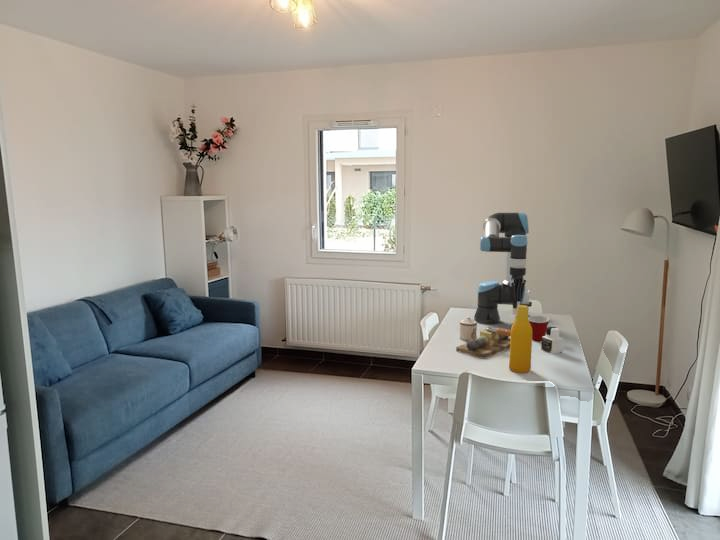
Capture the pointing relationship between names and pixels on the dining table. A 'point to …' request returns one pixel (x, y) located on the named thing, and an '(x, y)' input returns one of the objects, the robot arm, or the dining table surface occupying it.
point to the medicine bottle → (552, 341)
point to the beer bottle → (521, 342)
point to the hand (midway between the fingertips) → (515, 314)
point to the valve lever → (500, 331)
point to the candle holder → (526, 300)
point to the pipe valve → (486, 344)
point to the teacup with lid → (468, 329)
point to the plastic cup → (538, 327)
